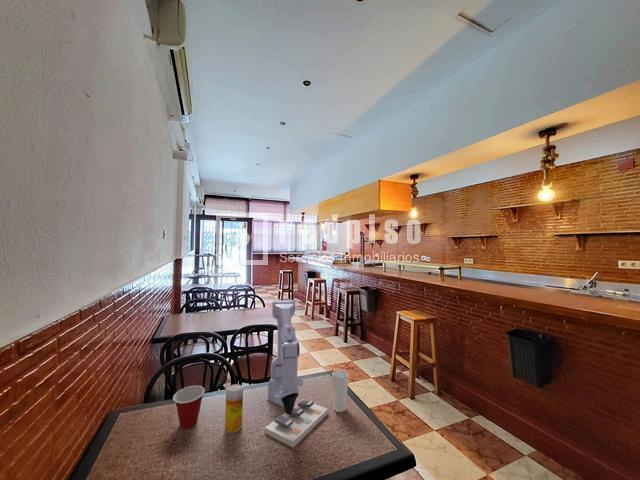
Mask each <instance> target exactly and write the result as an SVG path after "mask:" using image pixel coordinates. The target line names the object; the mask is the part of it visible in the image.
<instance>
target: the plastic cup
mask: <svg viewBox="0 0 640 480" xmlns="http://www.w3.org/2000/svg"><path fill="white" fill-rule="evenodd" d="M204 393H205V388H204V387H203V386H201V385H190V386H185V387H184V388H181V389H180V390H177V392H175V394H173V396H172V400H173V401H174V403H175V406H176V411H177V416H178V421H179V422H178V423H179V428H180V429H182V430H189V429H192V428H194V427H195V426H196V425H197V424H198V419H199V415H200V411H201V406H202V400H203V396H204Z"/></svg>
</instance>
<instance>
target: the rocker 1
mask: <svg viewBox="0 0 640 480" xmlns="http://www.w3.org/2000/svg"><path fill="white" fill-rule="evenodd" d="M281 415H282V414H280V415H279V416H276V418H275V419H274V420H275V423H277V424H279V425H281V426H283V427H285V428H289V427H290V426H291V425H292V424H293V421H292V420H290V419H288V418H286V417H284V416H281Z"/></svg>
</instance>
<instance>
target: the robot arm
mask: <svg viewBox="0 0 640 480" xmlns="http://www.w3.org/2000/svg"><path fill="white" fill-rule="evenodd" d="M271 307H272V309H271V310H272V311H271V312H272V313H271V314H272V318H273V319H275V320H276V321H277V354H276V355H277V356H276V357H275V358H273V359H272V360H271V365H270V378H269V381H268V384H267V397H266V400H267V401H269V402H271V403H274V404H276V405H279V406H281V407H283V408H284V411H285V412H284V413H286V414H289V415H290V414H291V413H292V411H293V407H294V405H295V404H296V401H297V399H298V396H299V392H300V389H299V387H303V386H304V380H303V379H301V378H298V363H299V360H298V359H299V358H300V353H301V352H300V351H301V349H300V343H299V340H298V338H297V334H296V330H295V327H294V326H293V325H292V318H293V317H294V315H295V312H296V302H295V300H294V299H290V300H288V299H286V300H276V299H275V300H272V306H271Z"/></svg>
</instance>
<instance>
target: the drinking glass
mask: <svg viewBox="0 0 640 480" xmlns="http://www.w3.org/2000/svg"><path fill="white" fill-rule="evenodd" d="M331 374H332V376H331V387H332V403H333V404H332V406H333V407H332V408H333V411H335V412H337V413H344V412H345V411H346V409H347V397H348V388H349V387H348V386H349V373H348V372H347V371H346V370H344V369H343V370H342V369H335V370H333V371H332V373H331Z"/></svg>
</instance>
